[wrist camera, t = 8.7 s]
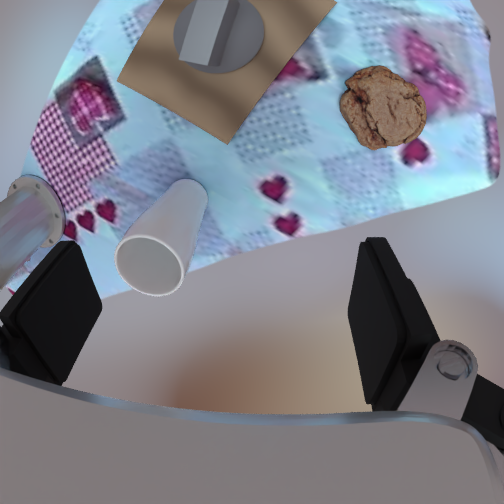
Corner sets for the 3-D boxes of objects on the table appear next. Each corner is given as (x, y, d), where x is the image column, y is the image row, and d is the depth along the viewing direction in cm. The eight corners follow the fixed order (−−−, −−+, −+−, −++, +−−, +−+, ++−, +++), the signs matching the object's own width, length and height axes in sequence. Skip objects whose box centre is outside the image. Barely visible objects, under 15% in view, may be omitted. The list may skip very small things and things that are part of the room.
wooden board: (229, 140, 34) (227, 145, 32) (124, 79, 30) (115, 81, 28) (333, 5, 24) (337, 2, 23) (217, -57, 20) (213, -64, 19)
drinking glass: (156, 178, 37) (100, 241, 25) (206, 166, 36) (169, 227, 24) (172, 224, 41) (131, 300, 28) (220, 215, 40) (195, 294, 27)
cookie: (422, 146, 33) (432, 153, 30) (341, 148, 34) (346, 156, 32) (420, 68, 27) (431, 69, 25) (334, 65, 29) (339, 65, 26)
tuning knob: (249, 82, 28) (242, 86, 23) (166, 64, 27) (140, 64, 22) (281, -10, 22) (283, -29, 17) (195, -27, 21) (176, -47, 16)
